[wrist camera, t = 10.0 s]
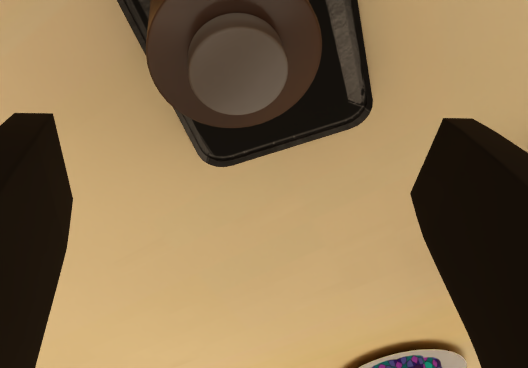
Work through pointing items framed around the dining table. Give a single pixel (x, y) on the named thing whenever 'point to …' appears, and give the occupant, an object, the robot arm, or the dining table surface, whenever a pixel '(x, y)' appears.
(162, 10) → the salt shaker
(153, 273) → the dining table surface
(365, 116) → the phone
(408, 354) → the pudding
